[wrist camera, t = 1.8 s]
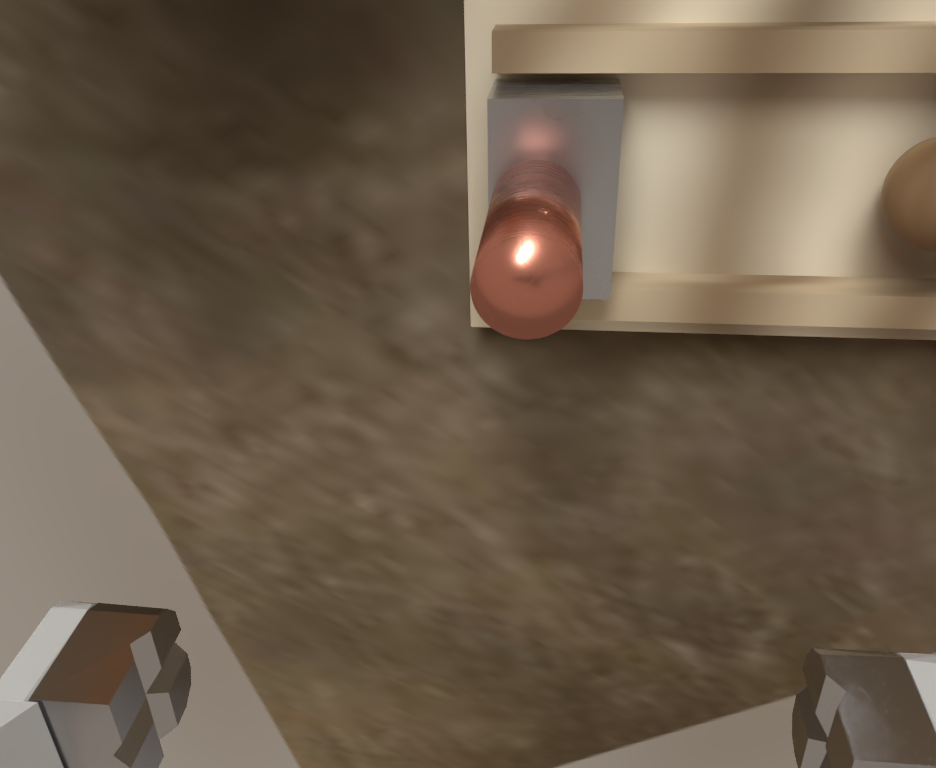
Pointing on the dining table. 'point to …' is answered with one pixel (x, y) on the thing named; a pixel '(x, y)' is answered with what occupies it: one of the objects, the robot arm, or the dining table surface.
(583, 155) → the lever
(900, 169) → the brown ball
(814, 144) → the wooden rail tray
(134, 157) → the dining table surface
